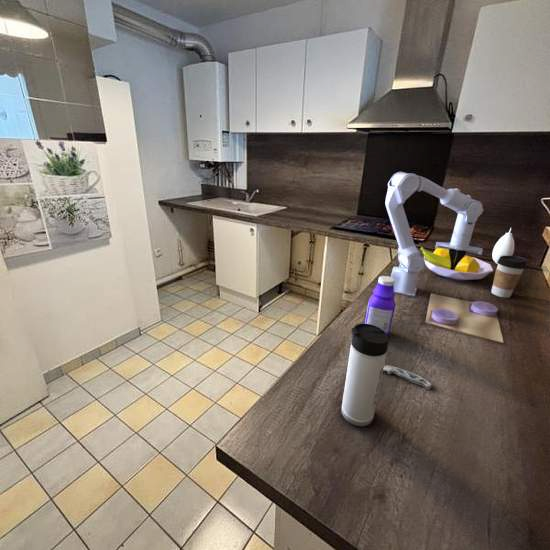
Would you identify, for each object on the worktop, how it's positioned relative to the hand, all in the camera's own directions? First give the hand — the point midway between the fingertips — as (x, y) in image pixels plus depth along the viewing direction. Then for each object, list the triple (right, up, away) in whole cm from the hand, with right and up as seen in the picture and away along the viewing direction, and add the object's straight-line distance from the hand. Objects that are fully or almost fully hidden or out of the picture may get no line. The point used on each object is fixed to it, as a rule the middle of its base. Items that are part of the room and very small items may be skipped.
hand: (452, 269), depth 109 cm
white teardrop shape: (+43, +11, +30) cm, 54 cm away
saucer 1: (-13, -16, -16) cm, 26 cm away
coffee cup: (+19, -10, +2) cm, 22 cm away
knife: (-38, -26, -38) cm, 60 cm away
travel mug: (-50, -31, -50) cm, 77 cm away
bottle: (-36, -19, -23) cm, 47 cm away
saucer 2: (+4, -14, -11) cm, 18 cm away
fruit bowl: (+12, -2, +21) cm, 24 cm away
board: (-5, -16, -13) cm, 21 cm away
